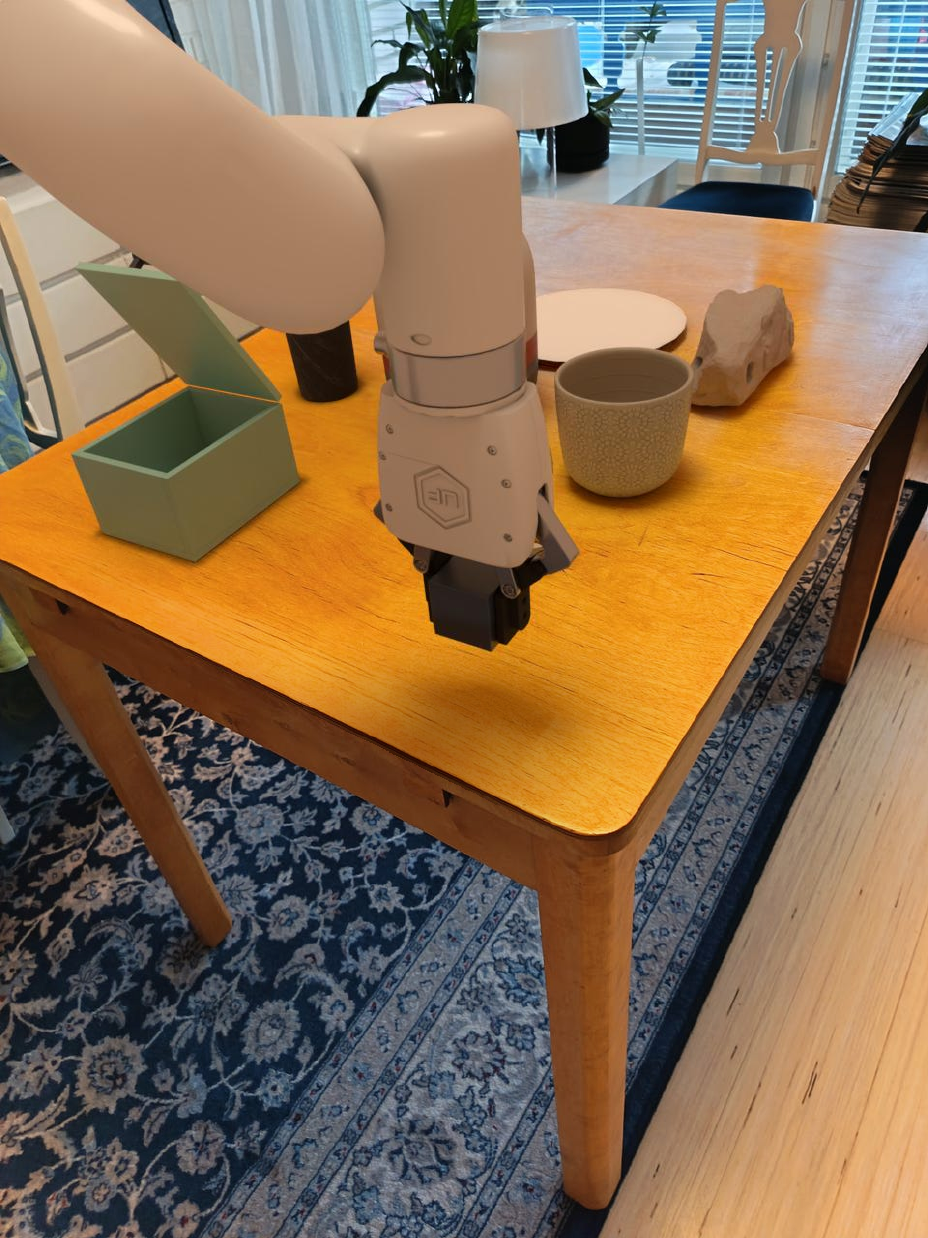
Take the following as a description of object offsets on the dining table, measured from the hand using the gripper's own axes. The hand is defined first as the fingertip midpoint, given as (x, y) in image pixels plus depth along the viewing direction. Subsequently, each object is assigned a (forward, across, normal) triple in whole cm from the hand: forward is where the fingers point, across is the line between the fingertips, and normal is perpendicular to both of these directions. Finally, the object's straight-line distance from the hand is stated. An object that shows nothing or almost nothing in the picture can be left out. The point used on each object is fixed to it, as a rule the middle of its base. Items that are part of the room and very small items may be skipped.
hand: (478, 619), depth 61 cm
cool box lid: (-8, -40, +16) cm, 44 cm away
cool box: (+8, -40, +12) cm, 42 cm away
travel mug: (+8, -44, +40) cm, 60 cm away
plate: (+7, -22, +66) cm, 69 cm away
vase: (+8, -25, +40) cm, 48 cm away
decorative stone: (+7, 0, +57) cm, 58 cm away
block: (0, 0, 0) cm, 0 cm away
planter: (+7, -3, +33) cm, 34 cm away
